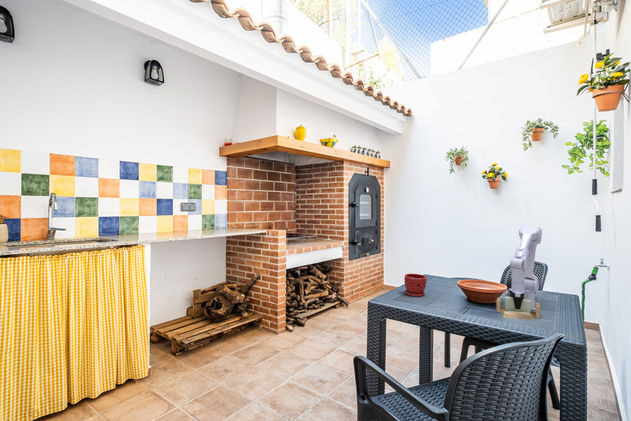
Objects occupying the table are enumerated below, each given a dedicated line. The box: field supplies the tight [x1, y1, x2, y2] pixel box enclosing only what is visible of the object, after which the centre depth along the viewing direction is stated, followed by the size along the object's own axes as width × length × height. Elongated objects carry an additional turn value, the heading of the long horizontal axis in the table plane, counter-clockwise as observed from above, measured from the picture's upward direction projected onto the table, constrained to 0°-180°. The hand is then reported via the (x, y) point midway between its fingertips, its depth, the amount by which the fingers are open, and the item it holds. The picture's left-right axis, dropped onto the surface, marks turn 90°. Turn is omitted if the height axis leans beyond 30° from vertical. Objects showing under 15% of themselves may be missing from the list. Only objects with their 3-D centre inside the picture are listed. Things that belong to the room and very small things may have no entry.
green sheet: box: [504, 296, 532, 314], centre depth 168 cm, size 4×11×8 cm, turn 58°
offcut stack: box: [501, 311, 535, 321], centre depth 162 cm, size 4×13×3 cm, turn 75°
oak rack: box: [496, 297, 541, 320], centre depth 168 cm, size 7×18×6 cm, turn 58°
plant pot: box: [404, 273, 427, 297], centre depth 202 cm, size 13×13×12 cm
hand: (517, 307), depth 168 cm, fingers closed on green sheet, 4 cm apart
